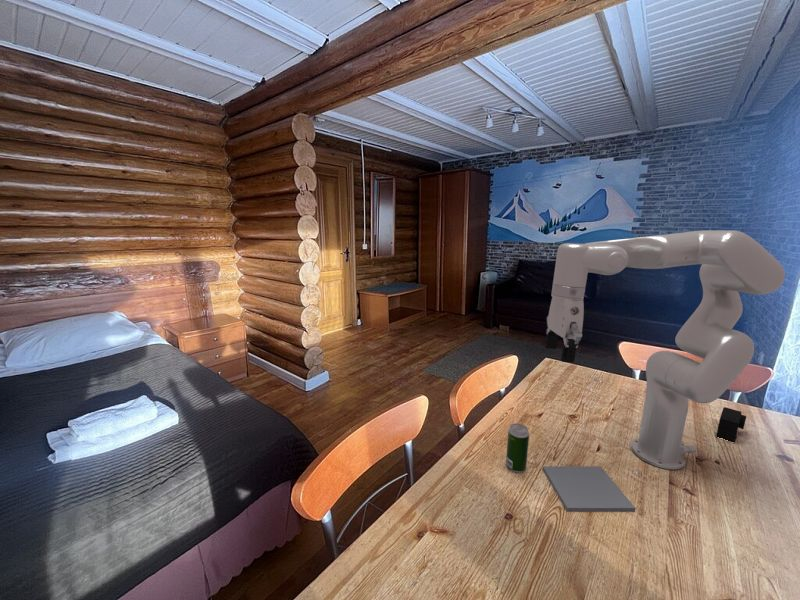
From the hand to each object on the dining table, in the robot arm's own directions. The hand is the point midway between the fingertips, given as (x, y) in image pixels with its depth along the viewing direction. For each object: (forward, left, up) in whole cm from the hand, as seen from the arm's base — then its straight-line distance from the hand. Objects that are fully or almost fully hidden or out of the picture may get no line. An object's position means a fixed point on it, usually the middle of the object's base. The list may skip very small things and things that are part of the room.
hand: (558, 354), depth 89 cm
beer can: (+10, +3, -33) cm, 34 cm away
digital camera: (-64, -12, -33) cm, 73 cm away
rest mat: (-5, +11, -32) cm, 34 cm away
